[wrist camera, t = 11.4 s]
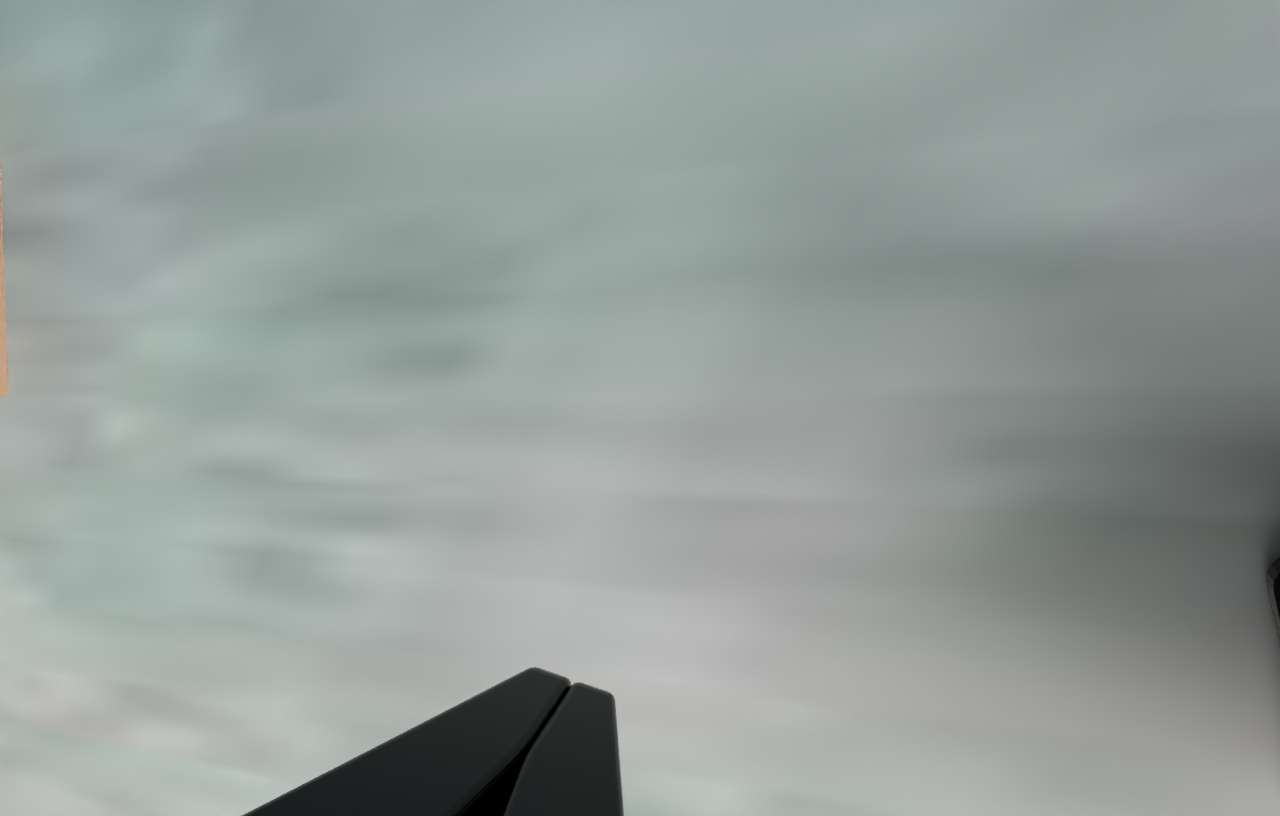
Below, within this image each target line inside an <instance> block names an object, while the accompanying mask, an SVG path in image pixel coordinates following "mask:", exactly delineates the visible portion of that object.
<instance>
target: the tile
mask: <svg viewBox="0 0 1280 816" xmlns="http://www.w3.org/2000/svg"><path fill="white" fill-rule="evenodd" d="M7 395H8V369H7V340H6V311H5V282H4V253H3V224H2V195H1V166H0V398H1V397H4V396H7Z"/></svg>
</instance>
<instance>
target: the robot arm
mask: <svg viewBox="0 0 1280 816" xmlns="http://www.w3.org/2000/svg"><path fill="white" fill-rule="evenodd" d="M1266 582H1267V587H1268V591H1269V596H1270V600H1271V605H1272V610H1273V614H1274V619H1275V624H1276V628H1277V633H1278V638H1279V642H1280V558H1279V559H1277V560H1276V561H1275V562H1274V563H1272V564H1271V566H1270V567H1269V569H1268V571H1267V577H1266ZM242 816H624V811H623V798H622V785H621V773H620V760H619V747H618V734H617V721H616V708H615V699H614V696H613V695H612V694H611V693H609V692H607V691H604V690H601V689H598V688H595V687H592V686H589V685H586V684H584V683H579V682H578V683H574V684H573V685H572V686H571V682H570V680H569V679H568V678H566V677H563V676H560V675H557V674H555V673H552V672H549V671H546V670H543V669H540V668H536V667H534V668H529V669H527V670H525V671H523V672H521V673H519V674H517V675H515V676H513V677H511V678H509V679H507V680H505V681H503V682H501V683H499V684H497V685H496V686H494V687H492V688H490V689H488V690H486V691H484V692H482V693H480V694H478V695H476V696H474V697H472V698H470V699H468V700H466V701H464V702H462V703H460V704H459V705H457V706H455V707H453V708H451V709H449V710H447V711H445V712H443V713H441V714H439V715H437V716H435V717H433V718H431V719H429V720H427V721H425V722H423V723H422V724H420V725H418V726H416V727H414V728H412V729H410V730H408V731H406V732H404V733H402V734H400V735H398V736H396V737H394V738H392V739H390V740H388V741H387V742H385V743H383V744H381V745H379V746H377V747H375V748H373V749H371V750H369V751H367V752H365V753H363V754H361V755H359V756H357V757H355V758H353V759H351V760H350V761H348V762H346V763H344V764H342V765H340V766H338V767H336V768H334V769H332V770H330V771H328V772H326V773H324V774H322V775H320V776H318V777H316V778H314V779H313V780H311V781H309V782H307V783H305V784H303V785H301V786H299V787H297V788H295V789H293V790H291V791H289V792H287V793H285V794H283V795H281V796H279V797H278V798H276V799H274V800H272V801H270V802H268V803H266V804H264V805H262V806H260V807H258V808H256V809H254V810H252V811H250V812H248V813H246V814H244V815H242Z"/></svg>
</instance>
